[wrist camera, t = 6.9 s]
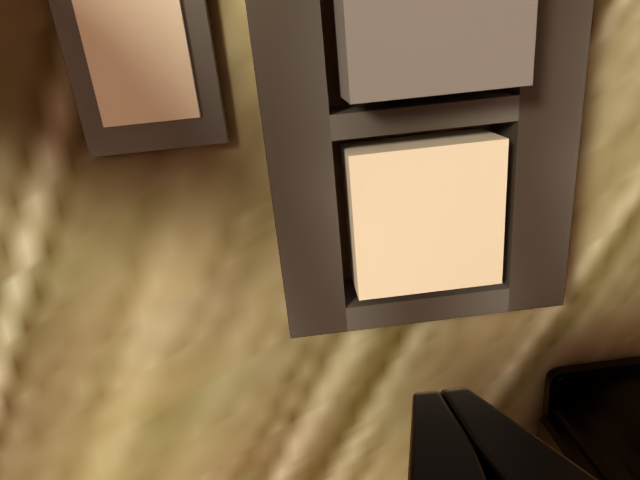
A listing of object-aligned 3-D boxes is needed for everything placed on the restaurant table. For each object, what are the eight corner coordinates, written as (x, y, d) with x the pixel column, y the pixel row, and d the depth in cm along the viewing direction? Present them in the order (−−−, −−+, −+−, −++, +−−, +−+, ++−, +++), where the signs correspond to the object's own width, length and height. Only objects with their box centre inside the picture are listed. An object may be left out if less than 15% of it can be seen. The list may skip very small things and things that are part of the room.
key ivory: (481, 127, 16) (509, 138, 14) (477, 258, 17) (502, 283, 15) (340, 143, 15) (348, 156, 13) (350, 273, 17) (358, 300, 15)
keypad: (565, -438, 12) (652, -587, 9) (521, 267, 19) (563, 304, 16) (195, -415, 12) (170, -562, 9) (289, 295, 19) (290, 338, 16)
